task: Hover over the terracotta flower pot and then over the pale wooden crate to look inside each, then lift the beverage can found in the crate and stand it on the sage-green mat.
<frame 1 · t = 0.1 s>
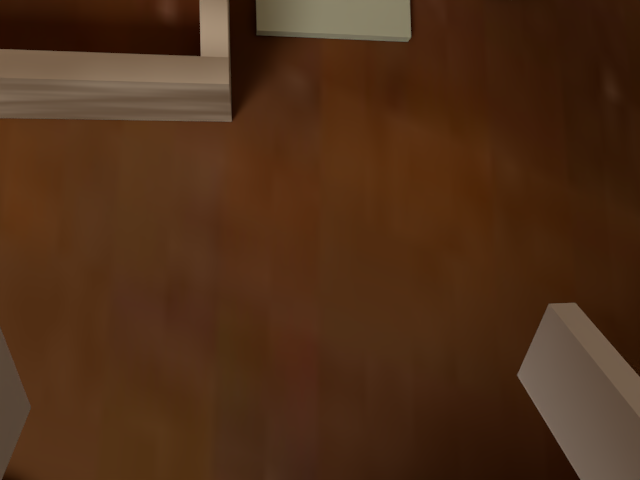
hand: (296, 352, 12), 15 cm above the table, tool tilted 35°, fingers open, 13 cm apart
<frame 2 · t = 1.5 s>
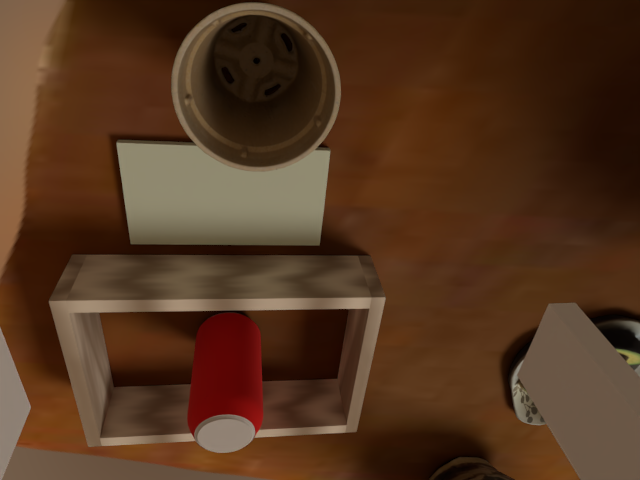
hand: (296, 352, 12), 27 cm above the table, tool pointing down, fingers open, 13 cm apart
salad plate: (574, 361, 59), on the table
beverage can: (229, 327, 48), resting in crate
flower pot: (255, 57, 35), on the table
crate: (229, 329, 48), on the table
ceramic jug: (461, 469, 69), on the table
mat: (227, 195, 40), on the table
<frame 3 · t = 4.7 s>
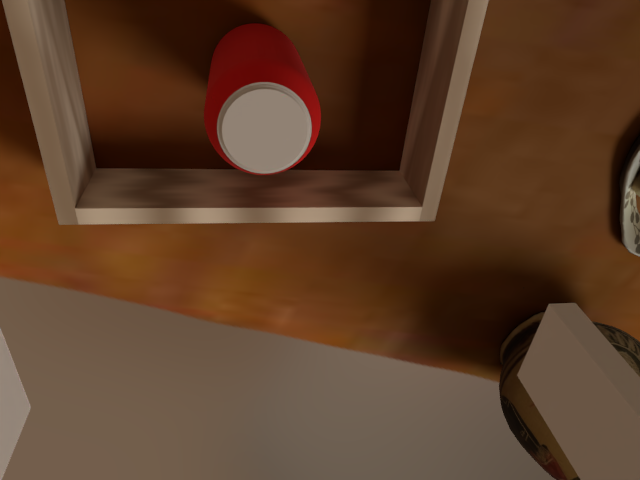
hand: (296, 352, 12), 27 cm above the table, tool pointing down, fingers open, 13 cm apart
beverage can: (256, 67, 34), resting in crate
crate: (256, 67, 34), on the table
ceramic jug: (540, 334, 55), on the table
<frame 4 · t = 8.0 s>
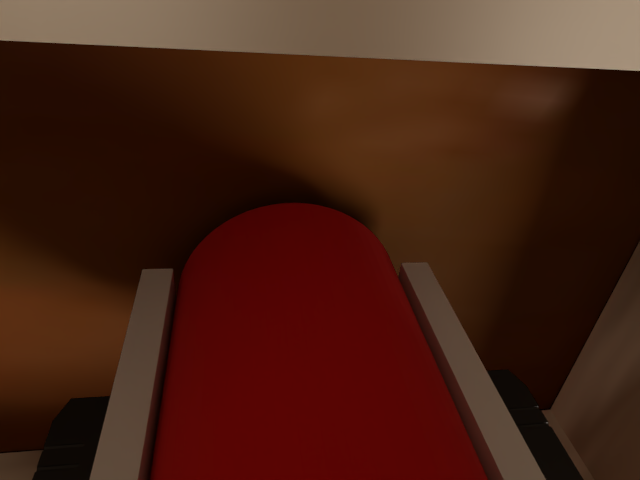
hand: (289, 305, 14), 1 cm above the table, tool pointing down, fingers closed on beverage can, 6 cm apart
beverage can: (284, 269, 15), resting in crate, touching gripper
crate: (285, 273, 15), on the table
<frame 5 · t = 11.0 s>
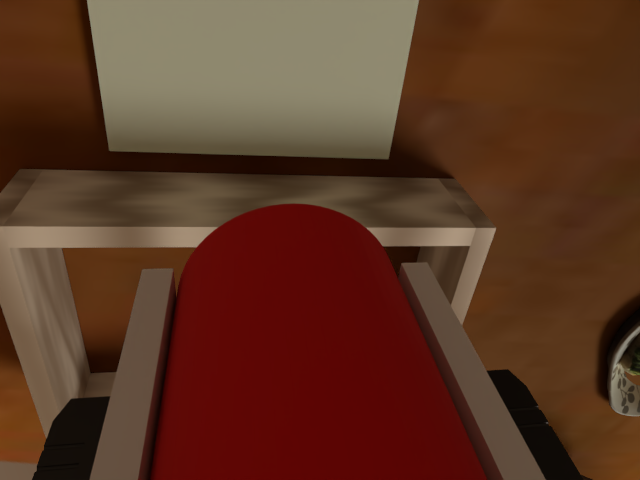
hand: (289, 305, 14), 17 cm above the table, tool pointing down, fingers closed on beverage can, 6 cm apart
beverage can: (284, 270, 15), point 15 cm above the table, touching gripper
crate: (251, 289, 34), on the table
mat: (257, 73, 26), on the table
when the fingers open (3 cm above the table, at t = 14.0 s): beverage can drops 1 cm, resting on mat.
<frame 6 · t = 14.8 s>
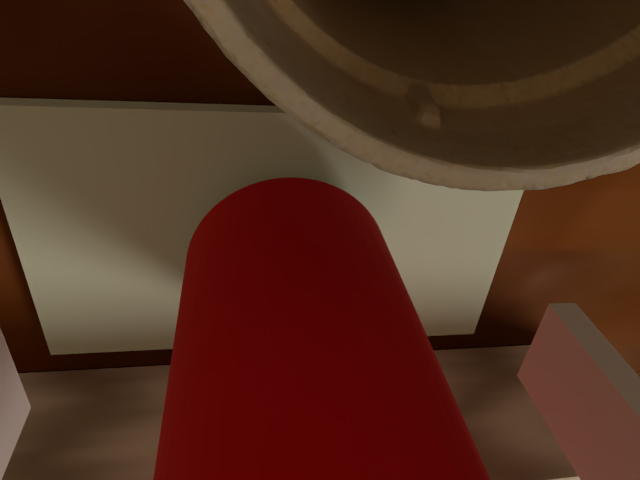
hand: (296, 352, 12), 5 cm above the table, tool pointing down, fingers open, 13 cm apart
beverage can: (284, 243, 16), resting on mat
mat: (279, 236, 17), on the table
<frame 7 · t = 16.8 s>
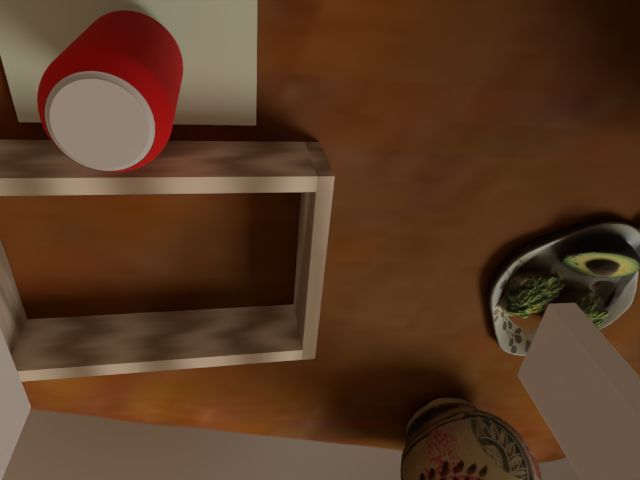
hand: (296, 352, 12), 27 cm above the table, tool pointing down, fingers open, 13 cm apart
salad plate: (559, 280, 53), on the table
beverage can: (136, 57, 32), resting on mat
crate: (158, 241, 41), on the table
ceramic jug: (441, 413, 63), on the table
mat: (135, 55, 33), on the table
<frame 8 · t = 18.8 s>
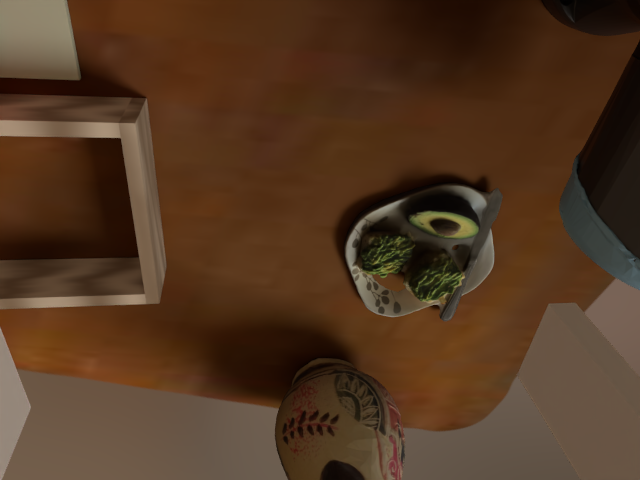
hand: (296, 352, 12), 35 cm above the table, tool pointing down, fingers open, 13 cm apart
salad plate: (419, 242, 56), on the table
crate: (10, 190, 45), on the table
ceramic jug: (326, 374, 66), on the table
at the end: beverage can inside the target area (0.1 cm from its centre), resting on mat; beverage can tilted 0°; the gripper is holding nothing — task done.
